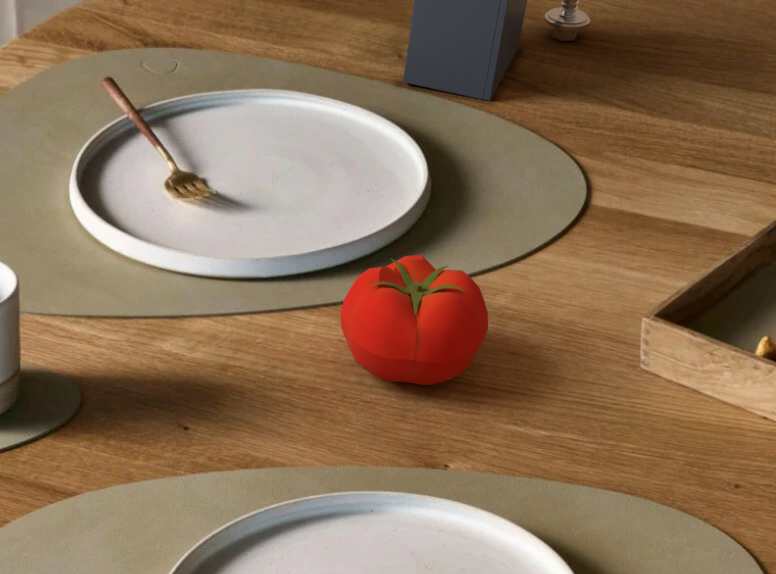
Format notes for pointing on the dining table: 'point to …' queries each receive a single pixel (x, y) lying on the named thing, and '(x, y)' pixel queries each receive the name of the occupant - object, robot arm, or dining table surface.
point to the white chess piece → (567, 20)
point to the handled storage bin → (463, 44)
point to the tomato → (414, 321)
